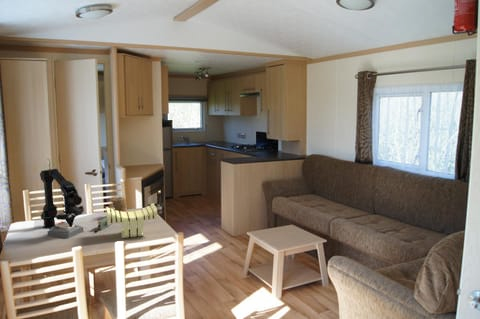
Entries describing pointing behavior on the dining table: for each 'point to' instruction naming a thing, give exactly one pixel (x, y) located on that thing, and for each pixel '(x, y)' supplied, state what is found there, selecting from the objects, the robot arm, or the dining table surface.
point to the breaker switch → (65, 225)
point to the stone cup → (120, 205)
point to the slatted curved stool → (132, 220)
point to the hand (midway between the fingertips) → (71, 226)
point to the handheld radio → (103, 224)
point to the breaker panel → (65, 231)
